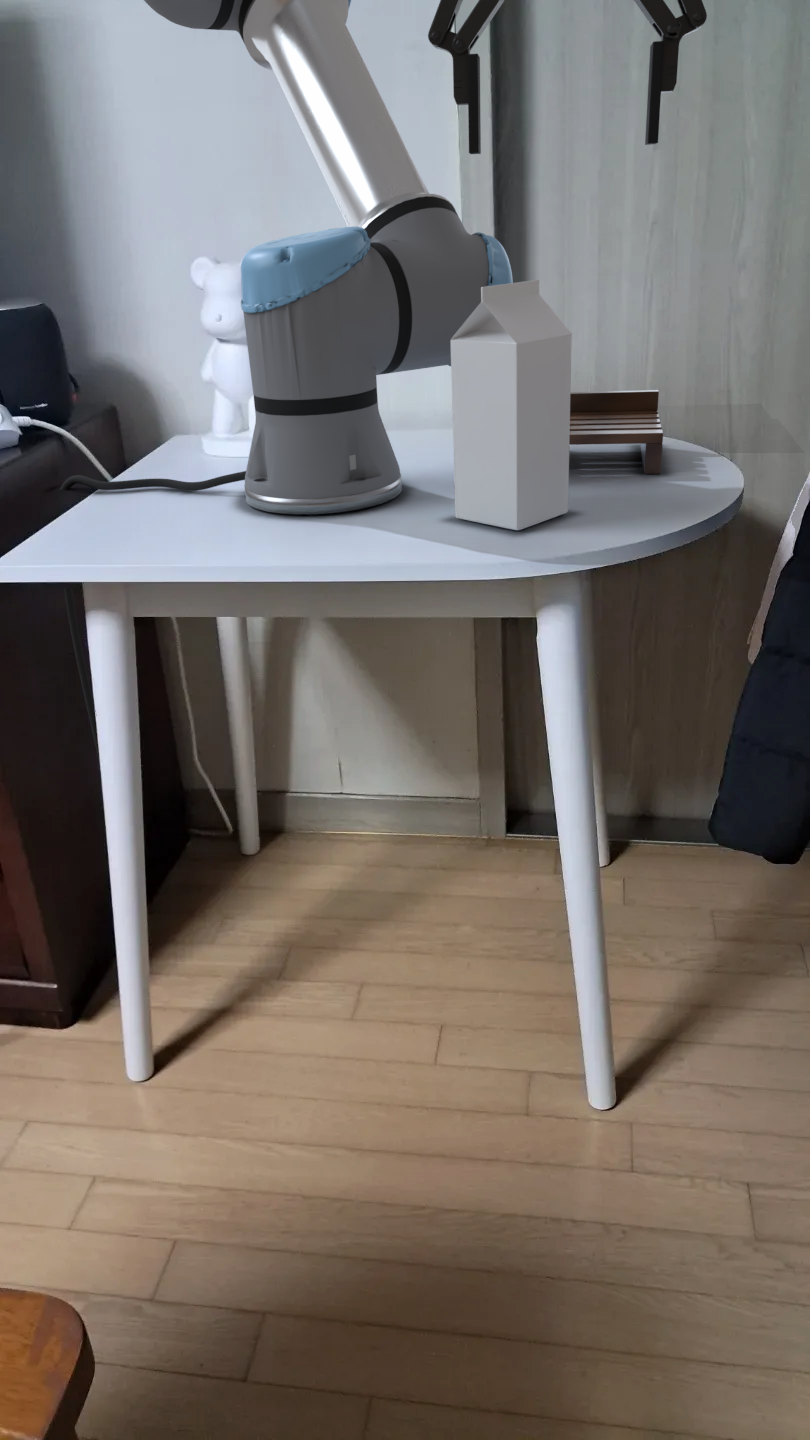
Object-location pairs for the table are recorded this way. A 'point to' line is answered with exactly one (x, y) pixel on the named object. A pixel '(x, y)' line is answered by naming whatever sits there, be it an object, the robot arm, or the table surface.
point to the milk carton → (511, 409)
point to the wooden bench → (619, 422)
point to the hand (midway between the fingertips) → (562, 149)
